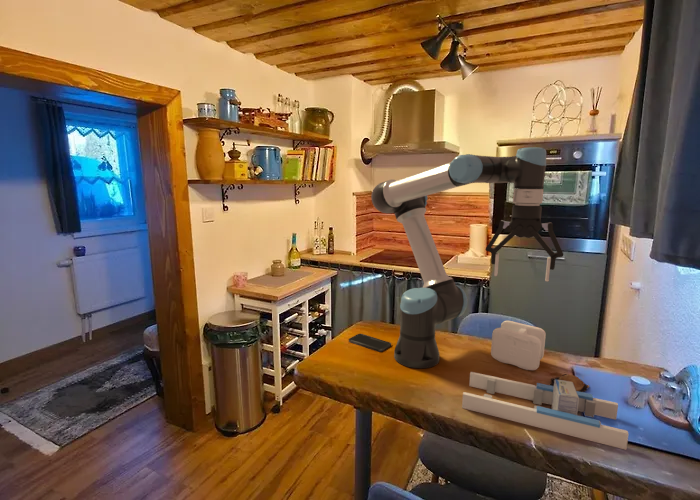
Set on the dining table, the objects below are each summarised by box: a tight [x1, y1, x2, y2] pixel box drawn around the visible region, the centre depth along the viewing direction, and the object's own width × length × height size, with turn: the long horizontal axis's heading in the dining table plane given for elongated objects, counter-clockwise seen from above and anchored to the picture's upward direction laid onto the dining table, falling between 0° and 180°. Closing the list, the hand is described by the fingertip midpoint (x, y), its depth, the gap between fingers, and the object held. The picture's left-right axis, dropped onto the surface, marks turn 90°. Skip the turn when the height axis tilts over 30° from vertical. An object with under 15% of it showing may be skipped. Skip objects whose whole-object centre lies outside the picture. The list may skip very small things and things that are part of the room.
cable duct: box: [461, 371, 629, 451], centre depth 98 cm, size 36×14×5 cm, turn 64°
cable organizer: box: [490, 320, 547, 371], centre depth 126 cm, size 15×11×12 cm
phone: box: [348, 333, 392, 353], centre depth 141 cm, size 8×1×15 cm
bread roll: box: [549, 373, 590, 393], centre depth 111 cm, size 11×8×4 cm
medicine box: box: [551, 379, 579, 415], centre depth 95 cm, size 8×4×9 cm, turn 159°
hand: (520, 277), depth 110 cm, fingers open, 13 cm apart
